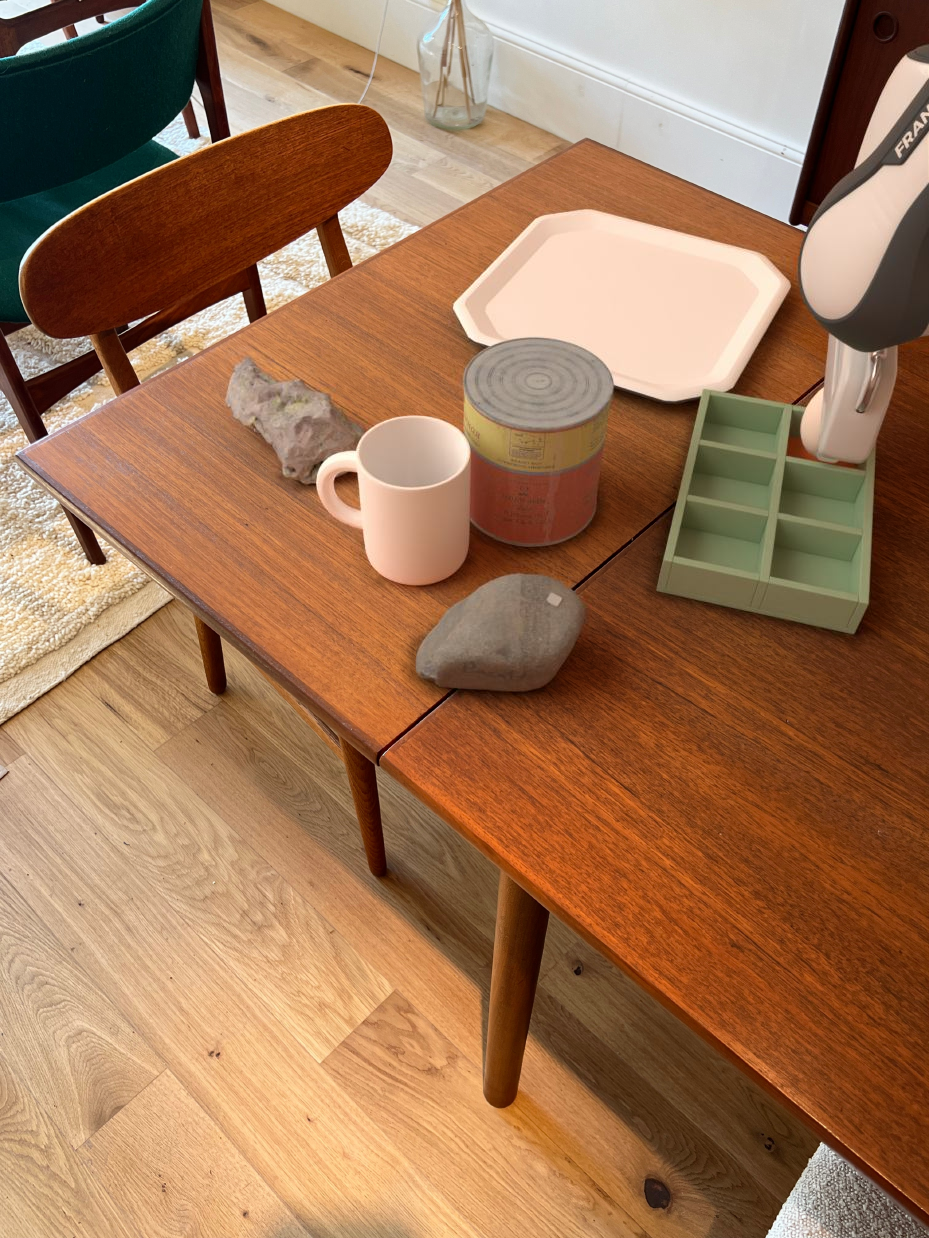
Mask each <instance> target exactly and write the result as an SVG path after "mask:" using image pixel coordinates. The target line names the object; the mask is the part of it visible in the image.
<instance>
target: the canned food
mask: <svg viewBox="0 0 929 1238" xmlns="http://www.w3.org/2000/svg"><path fill="white" fill-rule="evenodd" d="M462 388H463V434H464V436H465V437H466V439H467V441H468V443H469V446H470V451H471V466H470V523H471V524H472V525H473V526H474V527H475V528H476V529H477V530H478V531H480V532H481V533H483V534H484V535H486V536H488V537H489V538H491V539H493V540H496V541H498V542H501V543H504V544H508V545H511V546H512V545H513V546H517V547H527V548H534V547H535V548H536V547H537V548H539V547H547V546H552V545H557V544H561V543H563V542H566V541H568V540H571V539H572V538H574V537H576V536H577V535H579V534H581V532H583V531H584V530H585V529H586V528H587V527H588V526H589V524H590V523H591V522H592V520H593V518H594V516H595V513H596V510H597V496H598V489H599V482H600V476H601V468H602V461H603V457H604V456H603V454H604V450H605V449H604V448H605V442H606V434H607V428H608V421H609V414H610V407H611V401H612V398H613V395H614V389H615V388H614V382H613V378H612V375H611V373H610V371H609V369H608V368H607V366H606V365H605V364H604V363H603V362H602V361H601V360H600V359H599V358H598V357H597V356H595V355H594V354H593V353H591V352H589V351H588V350H586V349H584V348H582V347H580V346H577V345H575V344H572V343H569V342H565V341H561V340H557V339H550V338H539V337H528V338H518V339H512V340H507V341H503V342H500V343H497V344H494V345H492V346H490V347H488V348H485V349H482V350H481V351H480V352H478V353H477V354H475V356H473V357H472V358H471V360H470V361H469V362H468V364H467V365H466V366H465V369H464V372H463V375H462Z"/></svg>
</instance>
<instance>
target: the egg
mask: <svg viewBox="0 0 929 1238" xmlns="http://www.w3.org/2000/svg"><path fill="white" fill-rule="evenodd" d="M823 391H824V386H823V387H822V388H821V389H820V390H818V391H817V392H816V393H815V395H814V396H813V397H812V398H811V399H810V401H809V402H808V404H807V406H805V407H806V410H805V412H804V415H803V417H802V422H801V430H800V433H801V439H802V443H803V445H804V447H805V448H806V450H807V451H808V452H809V453H810V454H811V455H812V456H813V457H816V458H817V448H818V441H819V431H820V421H821V411H822V401H823Z"/></svg>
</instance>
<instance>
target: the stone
mask: <svg viewBox="0 0 929 1238" xmlns="http://www.w3.org/2000/svg"><path fill="white" fill-rule="evenodd" d="M585 619H586V606H585V604H584V602H583V600H582V599H581V597H580V596H579V595H578V594H577V593H576V592H575V591H574V590H573V589H572V588H571V587H569V586H568V585H566V584H565V583H563V582H561V581H560V580H558V579H556V578H555V577H551V576H547V575H545V574H536V573H535V574H525V573H520V572H517V573H510V574H505V575H503V576H499V577H497V578H494V579H492V580H489V581H487V582H486V583H484V584H482V585H481V586H479V587H478V588H476V590H474V591H473V592H471V593H470V594H469V595H468V596H466V597H465V598H463V599H462V600H459V601H458V602H456V603H455V604H453V605H452V606H450V607H449V608H448V609H447V610H446V611H445V612H444V614H443V615H442V617H441V618H440V620H439V621H438V623H436V625H435V626H433V628H432V629H431V630H430V631H429V632H428V633H427V635H426V636H425V638H424V639H423V640H422V642H421V644H420V646H419V647H418V650H417V653H416V657H415V672H416V674H417V675H418V676H419V677H420V678H421V679H422V680H425V681H428V682H433V683H435V685H437V686H438V687H441V688H449V689H450V688H451V689H460V690H461V689H463V690H483V691H484V690H485V691H494V692H527V691H531V690H532V691H533V690H537V689H540V688H543V687H544V686H546V685H548V684H549V683H550V682H551V681H552V680H553V679H554V677H555V676H556V675H557V673H558V672H559V670H560V669H561V667H562V666H563V664H564V663H565V661H566V660H567V658H568V657H569V655H570V653H571V652H572V651H573V648H574V646H575V645H576V642H577V641H578V638H579V636H580V634H581V631H582V629H583V626H584V623H585Z"/></svg>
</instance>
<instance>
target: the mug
mask: <svg viewBox="0 0 929 1238" xmlns="http://www.w3.org/2000/svg"><path fill="white" fill-rule="evenodd" d="M470 466H471V451H470V446H469V443H468V441H467V439H466V437H465V436H464V432H462V430H460V429H459V428H458V427H456V426H455V425H453V424H452V423H450V422H448V421H445V420H443V419H440V418H437V417H432V416H426V415H403V416H396V417H392V418H390V419H386V420H383V421H381V422H378V423H377V424H375V425H373V426H372V427H371V428H370V429H368V430H366V433H365V434H364V435H363V436H362V438H361V439H360V441H359V443H358V446H357V449H356V451H345V452H340V453H337V454H334V455H332V456H331V457H329V458H328V459H327V460H326V461H325V462H324V463H323V464H322V465H321V467H320V468H319V471H318V474H317V481H316V483H315V484H316V491H317V494H318V497H319V499H320V502H321V503H322V505H323V506H324V508H325V509H326V510H327V512H328V513H329V514H330V515H331V516H332V517H333V518H334V519H336V520H338V521H339V522H341V523H343V524H345V525H347V526H350V527H353V528H355V529H358V530H362V534H363V541H364V542H363V543H364V548H365V554H366V556H367V560H368V562H369V563H370V565H371V566H372V568H373V569H374V570H375V571H377V573H378V574H379V575H380V576H382V577H384V578H385V579H387V580H389V581H392V582H394V583H397V584H401V585H408V586H426V585H431V584H435V583H438V582H441V581H444V580H445V579H447V578H449V577H450V576H452V575H453V574H454V573H456V572H457V571H458V570H459V569H460V568H461V566H462V565H463V564H464V562H465V560H466V559H467V555H468V551H469V547H470V546H469V544H470V527H471V525H470V523H471V521H470ZM344 471H348V472H353V473H357V480H358V481H357V482H358V492H359V504H360V509H358V508H357V509H356V508H354V507H352V506H349V505H347V504H346V503H345V502H343V501H342V500H341V499H340V497H339V496H338V494H337V493H336V490H335V483H334V482H335V479H336V477H335V476H336V475H337V474H338V473H340V472H344Z"/></svg>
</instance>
